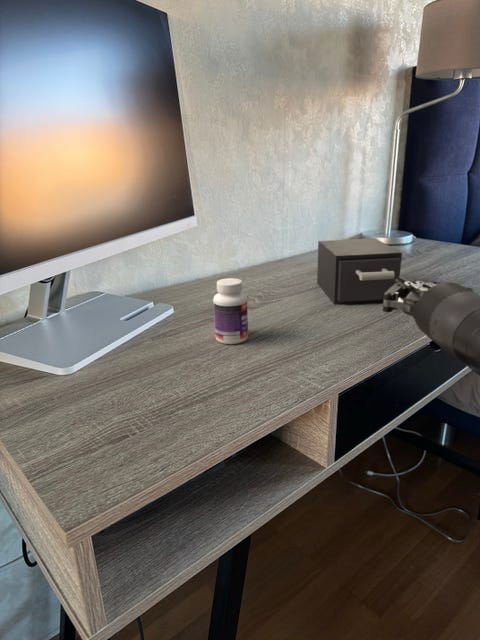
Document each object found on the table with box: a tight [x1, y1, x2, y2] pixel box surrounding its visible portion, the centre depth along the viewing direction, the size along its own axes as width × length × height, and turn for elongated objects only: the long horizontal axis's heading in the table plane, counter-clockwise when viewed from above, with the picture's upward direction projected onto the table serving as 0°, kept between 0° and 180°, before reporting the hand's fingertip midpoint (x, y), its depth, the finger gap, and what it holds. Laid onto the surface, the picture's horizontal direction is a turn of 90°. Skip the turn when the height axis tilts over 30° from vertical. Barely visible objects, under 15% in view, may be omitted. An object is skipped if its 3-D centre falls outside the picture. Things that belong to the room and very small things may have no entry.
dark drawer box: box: [337, 257, 402, 302], centre depth 88 cm, size 18×11×8 cm, turn 4°
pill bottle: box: [212, 277, 249, 345], centre depth 71 cm, size 5×5×10 cm
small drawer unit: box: [316, 237, 403, 305], centre depth 92 cm, size 15×13×10 cm
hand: (401, 282), depth 69 cm, fingers closed
